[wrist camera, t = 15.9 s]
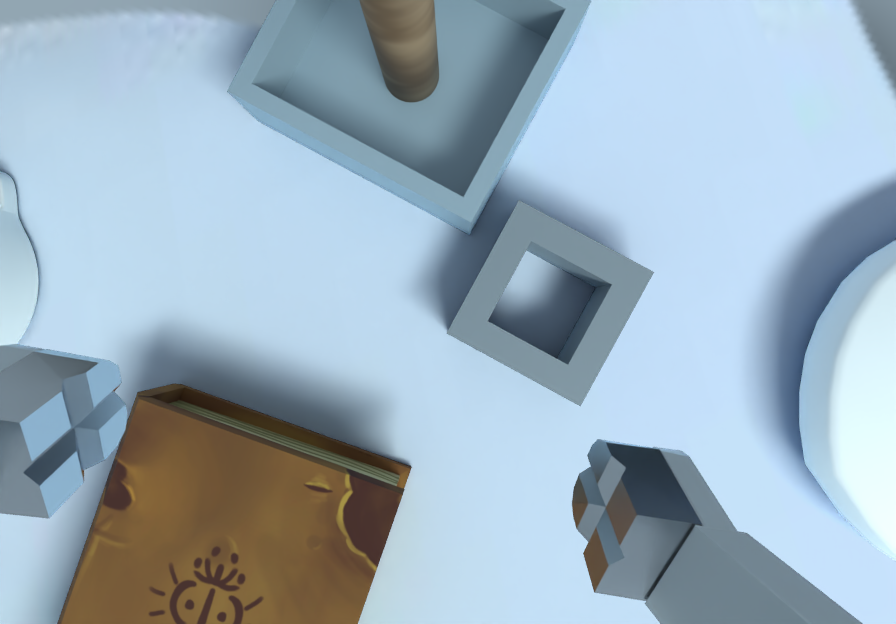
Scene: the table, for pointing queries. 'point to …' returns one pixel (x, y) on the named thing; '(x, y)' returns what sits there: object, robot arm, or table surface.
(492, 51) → the tray
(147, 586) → the diary
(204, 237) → the table surface
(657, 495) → the robot arm
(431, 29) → the dowel
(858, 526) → the plate
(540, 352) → the socket block
